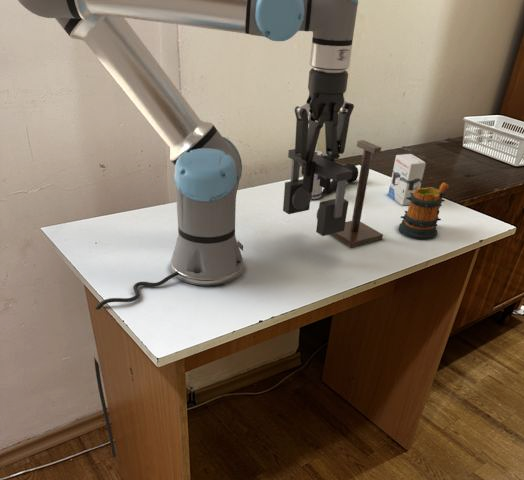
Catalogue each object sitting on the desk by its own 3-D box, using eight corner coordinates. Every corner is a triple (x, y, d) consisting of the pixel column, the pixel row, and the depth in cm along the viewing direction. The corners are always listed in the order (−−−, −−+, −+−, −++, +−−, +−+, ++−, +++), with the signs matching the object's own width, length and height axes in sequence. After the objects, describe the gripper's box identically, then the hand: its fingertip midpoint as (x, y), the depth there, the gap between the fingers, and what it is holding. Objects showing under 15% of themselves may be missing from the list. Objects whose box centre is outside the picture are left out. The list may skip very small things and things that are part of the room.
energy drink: (325, 194, 147) (326, 151, 139) (316, 200, 143) (317, 157, 136) (308, 191, 149) (308, 149, 142) (299, 197, 145) (299, 154, 138)
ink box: (387, 194, 151) (395, 154, 143) (401, 193, 152) (410, 153, 145) (401, 205, 144) (411, 163, 137) (416, 204, 145) (426, 162, 138)
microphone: (324, 208, 147) (357, 182, 159) (331, 192, 143) (364, 166, 154) (309, 198, 149) (343, 173, 160) (315, 182, 144) (350, 157, 156)
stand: (351, 247, 121) (367, 153, 108) (325, 231, 128) (337, 140, 114) (382, 239, 126) (401, 147, 112) (355, 224, 132) (371, 135, 119)
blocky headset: (325, 237, 110) (333, 174, 101) (280, 209, 121) (284, 150, 112) (346, 232, 112) (356, 170, 104) (301, 205, 123) (306, 147, 115)
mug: (420, 244, 125) (432, 198, 118) (388, 229, 131) (398, 184, 124) (452, 232, 132) (465, 188, 125) (420, 218, 138) (431, 175, 131)
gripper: (304, 75, 91) (294, 201, 106) (375, 70, 99) (356, 188, 113) (281, 67, 96) (274, 189, 111) (350, 63, 104) (335, 177, 118)
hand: (315, 188), depth 112 cm, fingers closed on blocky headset, 4 cm apart
